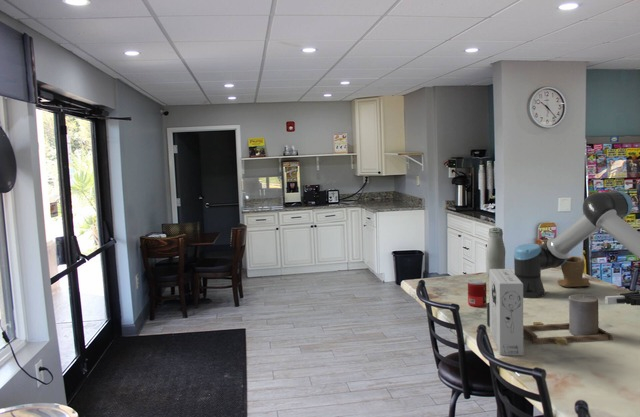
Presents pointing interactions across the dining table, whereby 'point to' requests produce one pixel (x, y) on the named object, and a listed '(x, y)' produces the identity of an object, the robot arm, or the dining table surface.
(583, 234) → the robot arm
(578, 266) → the stone cup
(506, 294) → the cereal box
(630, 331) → the dining table surface
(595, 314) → the pillar candle
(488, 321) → the supplement bottle
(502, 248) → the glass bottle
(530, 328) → the frame
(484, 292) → the canned food
